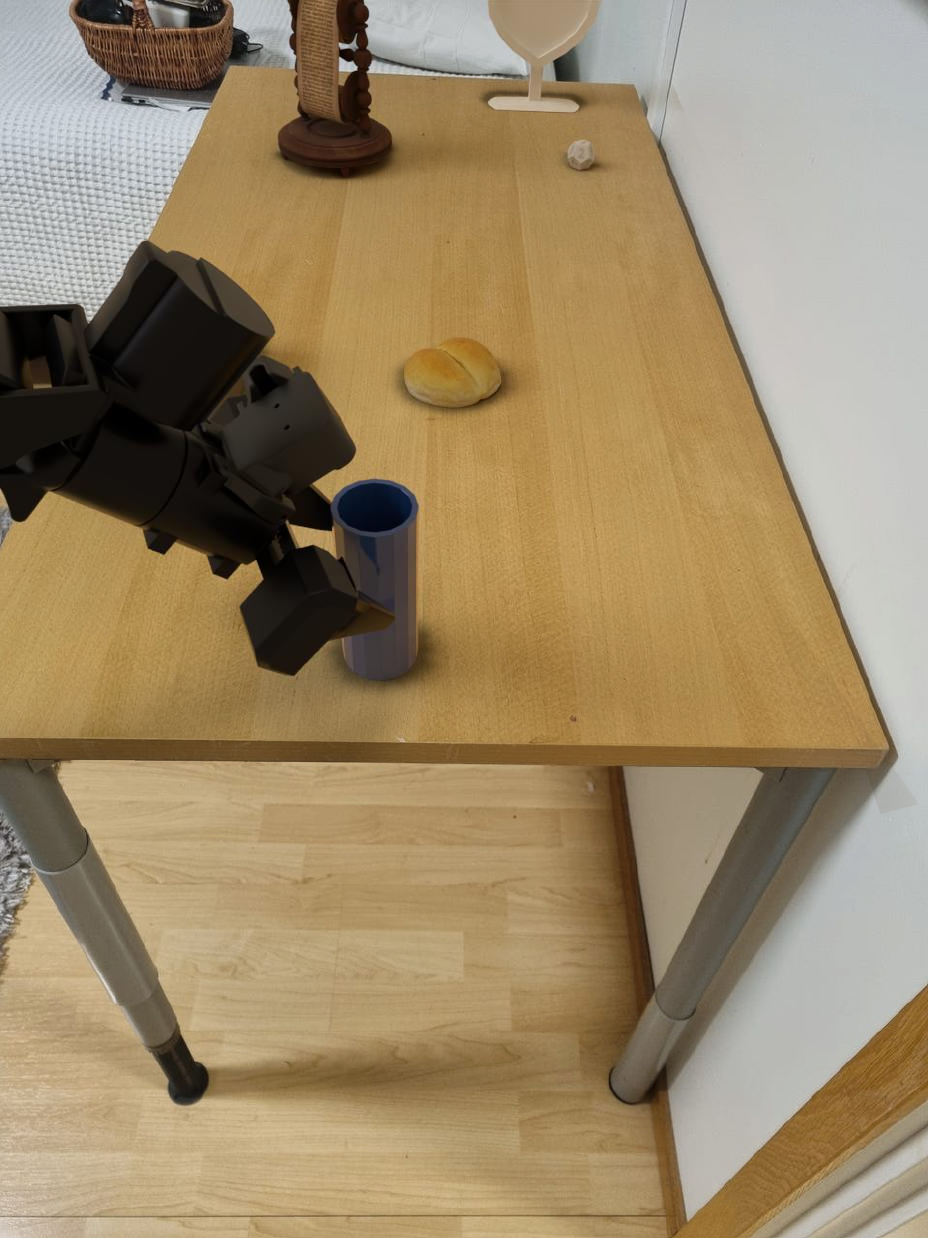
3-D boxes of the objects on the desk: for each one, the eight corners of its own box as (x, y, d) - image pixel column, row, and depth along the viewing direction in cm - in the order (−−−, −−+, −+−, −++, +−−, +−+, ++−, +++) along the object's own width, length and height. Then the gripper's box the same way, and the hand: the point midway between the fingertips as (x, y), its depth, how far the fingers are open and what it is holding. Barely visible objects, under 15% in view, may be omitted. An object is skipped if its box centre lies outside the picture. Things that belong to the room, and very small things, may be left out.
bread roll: (388, 380, 89) (387, 342, 86) (465, 352, 93) (466, 316, 90) (437, 424, 85) (437, 386, 82) (515, 393, 88) (518, 356, 85)
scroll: (256, 161, 121) (234, -21, 106) (322, 125, 130) (311, -48, 115) (351, 189, 116) (342, 4, 101) (413, 150, 125) (413, -26, 110)
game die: (560, 166, 124) (563, 142, 121) (577, 158, 125) (580, 134, 123) (581, 174, 122) (584, 150, 120) (598, 166, 124) (602, 142, 122)
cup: (352, 691, 64) (340, 542, 54) (337, 635, 67) (323, 485, 57) (425, 676, 65) (427, 528, 55) (407, 622, 68) (406, 473, 58)
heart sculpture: (481, 108, 136) (489, -39, 123) (480, 96, 139) (487, -49, 126) (587, 112, 137) (606, -34, 123) (583, 100, 140) (601, -44, 127)
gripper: (299, 472, 40) (514, 585, 51) (206, 267, 51) (399, 397, 62) (152, 641, 43) (383, 712, 55) (95, 415, 55) (296, 513, 66)
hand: (366, 571), depth 59 cm, fingers open, 9 cm apart
